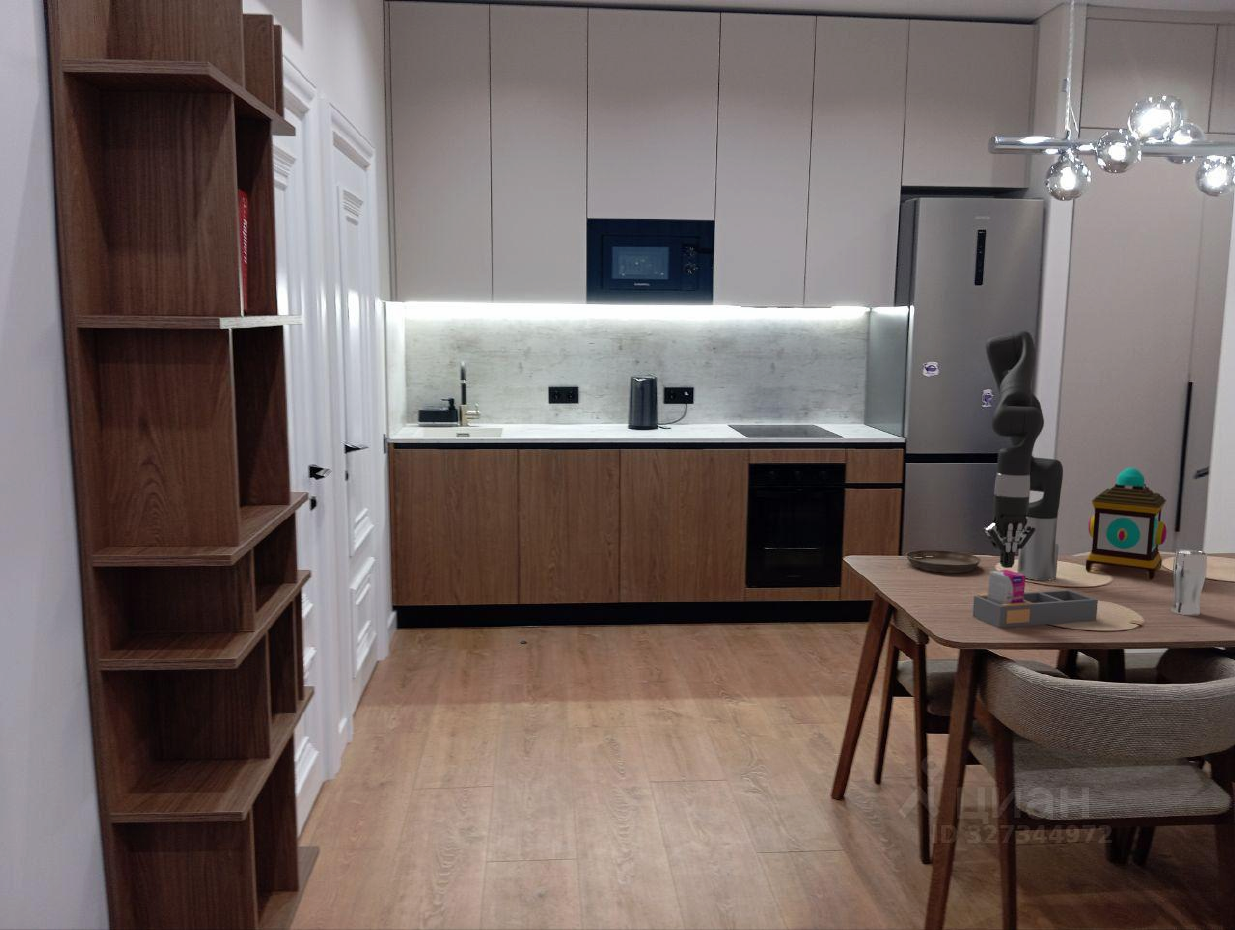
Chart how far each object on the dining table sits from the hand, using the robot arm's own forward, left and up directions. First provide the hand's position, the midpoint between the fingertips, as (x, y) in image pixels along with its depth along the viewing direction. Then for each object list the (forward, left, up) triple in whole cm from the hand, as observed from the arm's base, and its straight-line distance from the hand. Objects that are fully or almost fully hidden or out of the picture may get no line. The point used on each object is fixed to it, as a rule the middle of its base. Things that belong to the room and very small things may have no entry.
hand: (1006, 567), depth 227 cm
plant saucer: (-19, -52, -13) cm, 57 cm away
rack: (-9, 0, -13) cm, 15 cm away
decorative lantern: (-68, -36, -13) cm, 78 cm away
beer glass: (-49, +4, -13) cm, 51 cm away
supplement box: (0, 0, -13) cm, 13 cm away
